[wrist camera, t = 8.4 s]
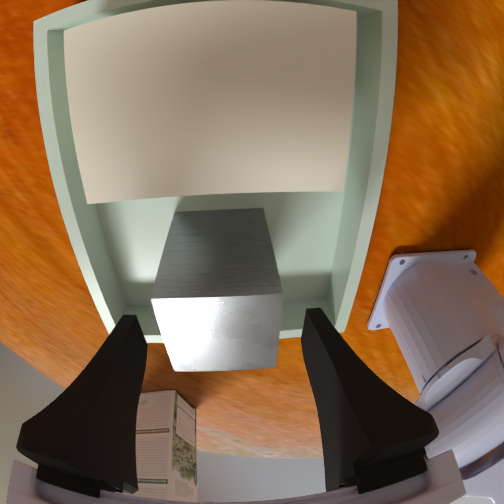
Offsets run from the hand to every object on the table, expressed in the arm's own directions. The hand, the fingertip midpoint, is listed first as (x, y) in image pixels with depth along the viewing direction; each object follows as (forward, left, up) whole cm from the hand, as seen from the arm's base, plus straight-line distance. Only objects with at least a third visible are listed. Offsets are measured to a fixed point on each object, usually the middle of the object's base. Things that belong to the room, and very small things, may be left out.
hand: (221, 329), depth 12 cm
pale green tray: (0, -4, -8) cm, 9 cm away
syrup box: (+8, +22, -8) cm, 25 cm away
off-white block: (0, -9, -7) cm, 11 cm away
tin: (0, 0, -7) cm, 7 cm away
